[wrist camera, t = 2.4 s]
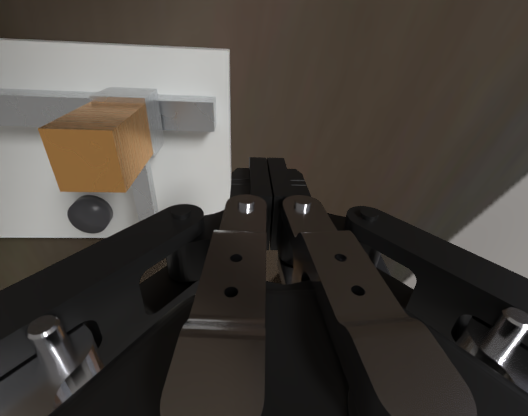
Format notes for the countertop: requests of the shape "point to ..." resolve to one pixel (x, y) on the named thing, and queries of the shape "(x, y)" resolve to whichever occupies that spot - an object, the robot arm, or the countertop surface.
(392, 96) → the countertop surface
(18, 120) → the rail and fixed leg
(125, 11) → the countertop surface
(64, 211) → the hole plate
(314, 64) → the countertop surface
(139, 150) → the block
